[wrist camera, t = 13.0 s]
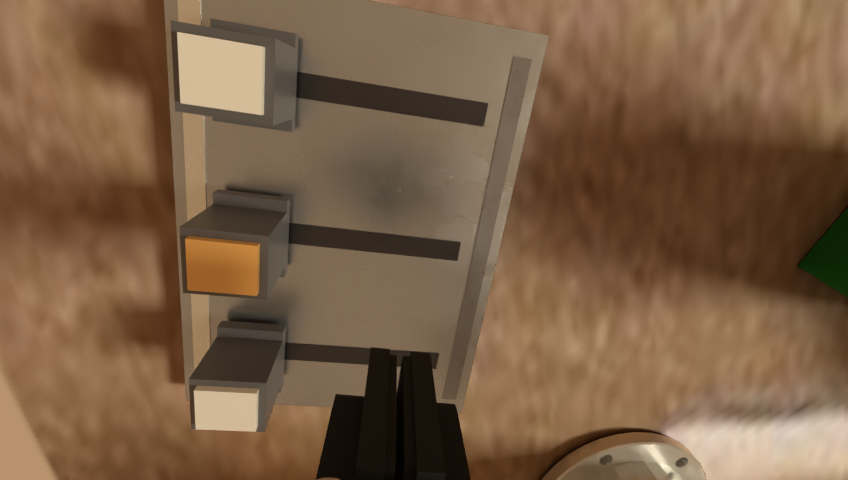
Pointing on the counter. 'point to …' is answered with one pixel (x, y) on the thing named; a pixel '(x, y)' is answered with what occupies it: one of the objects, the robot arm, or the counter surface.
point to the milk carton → (831, 257)
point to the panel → (367, 186)
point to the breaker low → (236, 73)
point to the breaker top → (238, 378)
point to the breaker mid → (236, 246)
